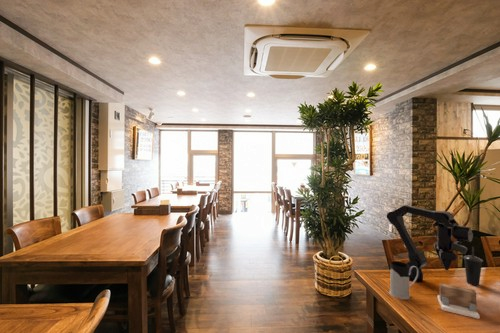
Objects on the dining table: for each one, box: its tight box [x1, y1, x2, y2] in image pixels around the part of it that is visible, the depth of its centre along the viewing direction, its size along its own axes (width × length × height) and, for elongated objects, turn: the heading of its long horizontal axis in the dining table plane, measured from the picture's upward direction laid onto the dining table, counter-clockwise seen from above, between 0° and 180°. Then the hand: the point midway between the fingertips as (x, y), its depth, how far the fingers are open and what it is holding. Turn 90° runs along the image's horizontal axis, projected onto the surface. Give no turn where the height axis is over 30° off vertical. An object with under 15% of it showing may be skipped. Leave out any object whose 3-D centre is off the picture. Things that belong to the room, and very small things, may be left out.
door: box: [438, 282, 477, 308], centre depth 105 cm, size 12×3×7 cm, turn 60°
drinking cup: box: [462, 246, 484, 287], centre depth 127 cm, size 8×8×20 cm
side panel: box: [437, 294, 480, 320], centre depth 105 cm, size 12×11×4 cm
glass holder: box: [388, 260, 419, 301], centre depth 116 cm, size 9×14×15 cm, turn 95°
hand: (444, 266), depth 120 cm, fingers open, 9 cm apart
